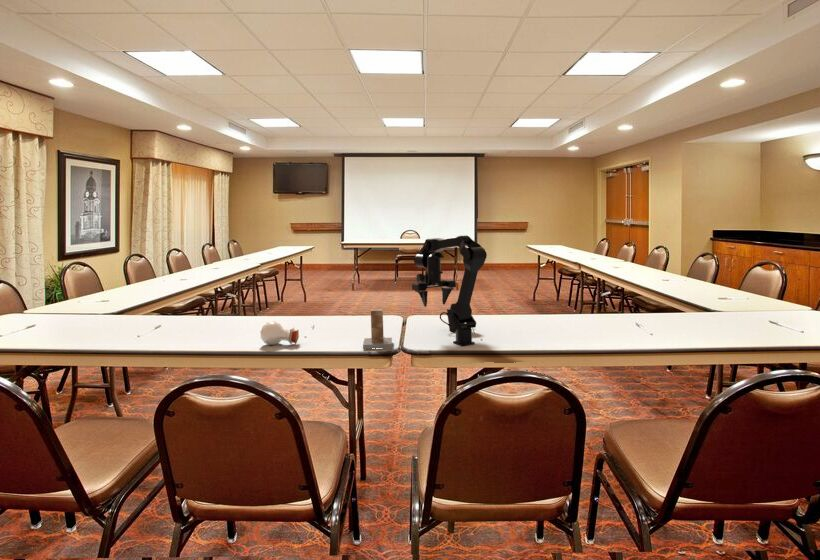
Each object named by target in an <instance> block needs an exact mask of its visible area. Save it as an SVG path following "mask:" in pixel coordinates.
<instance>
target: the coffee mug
mask: <svg viewBox="0 0 820 560" xmlns="http://www.w3.org/2000/svg"><path fill="white" fill-rule="evenodd" d="M450 307H451V306H450ZM450 307H446V312H445V311H442V312H441V313H440V314H439V319H440V320H441V322H443V323H444V324H445V325H448V328H449V330H448V331H449V332H450V333H456V330H454V329H452V327H451V323H450V318H449V315H450V313H449V311H450ZM443 314H445V315H446V316H447V320H448V321H447V322H446V321H444V320H443V319H442V315H443ZM462 324H466V323H462Z"/></svg>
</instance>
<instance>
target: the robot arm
mask: <svg viewBox="0 0 820 560" xmlns="http://www.w3.org/2000/svg"><path fill="white" fill-rule="evenodd" d="M455 247H456V248H457V247H458V251H459V254H460V255H461V256H462V263H463V266H464V272H463V276H462V281H461V285H460V289H459V293H458V297H457V301H456V302H455V303H451V304H450V311H449V313H450V315H449V318H450V323H451V327H452V329H454V330H456V332H455V340H453V341H452V343H453V344H456V345H458V346H461V347H462V346H469V345H474V344H476V341H472V340H473V339H472V338H473V337H472V335H473V333H472V330H473V328H476V326H477V321H476V320H475V318H474V316H473V315H472V314H473V310H472V307H471V301H472V297H473V293H474V288H475V285H476V281H477V277H478V273H479V271H480V269H481V268H482V267H484V264H485V262H486V259H487V257H488V256H487V253H488V252H487V251H486V250H485V249H486V248H484V247H482V245H481V244H479V243H478V242H476V241H475V240H473V239H472V238H471V237H470V236H469V235H458V236H453V237H447V238H440V237H439V238H438V237H437V238H435V237H434V238H426V239H425V240H424V243H423V245H422V247H421V250H420V251H417V254H416V255H415V257H414V259H413V262H414V266H415V267H417V268H425V269H426V270H425V272H424V274H422V273H418V274H416V282H413V283H412V285H411V290H413V291H414V292H416V293H418V295H419V296H420V298H421V301H422V304H423V306H424V307H425V308H427V305H428V294H429V293H428V292H429V291H428V290H427V289H430V288H431V289H432V288H439V287H440V289H441V292H442V293H441V294H442V296H441V297H442V299H441V300H442V305H443V306H445V304H446V303H447V300H448V298H449V297H450V294H451V293H452V291H453V290H455V289H454V288H457V282H456V280H453V279H443V280H442V274H443V270H441V269H442V268H441V267H442V265H441V264H442V263H441V259H444V258H445V256H444V255H443V254H442V253H441V252H443V251H445V250H446V249H449V248H455ZM462 323H465V324H462Z"/></svg>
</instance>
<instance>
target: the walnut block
mask: <svg viewBox="0 0 820 560" xmlns="http://www.w3.org/2000/svg"><path fill="white" fill-rule="evenodd" d="M383 315H384V311H383V308H371V309H370V330H371V331H370V333H371V338H372V343H375V342H383V340H384V338H385V337H384V316H383Z"/></svg>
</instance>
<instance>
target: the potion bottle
mask: <svg viewBox="0 0 820 560" xmlns="http://www.w3.org/2000/svg"><path fill="white" fill-rule="evenodd" d="M259 332H260V339H261V340H262V342H263V343H264V344H266V345H268V346H277V345H278V344H279V343H281V342H282V341H283V342H288V343H289V344H290V345H292V344H293V343H294V344H295V345H297V344H298V340H299V338H300V335H299V333H300V332H299V329H297V330H295V327H293V328H291V329H284V327H283V326H282V325H281V324H280V323H278V322H276V321H269V322H266V324H264V325H263V326H262V328H261V330H260V331H259Z"/></svg>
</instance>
